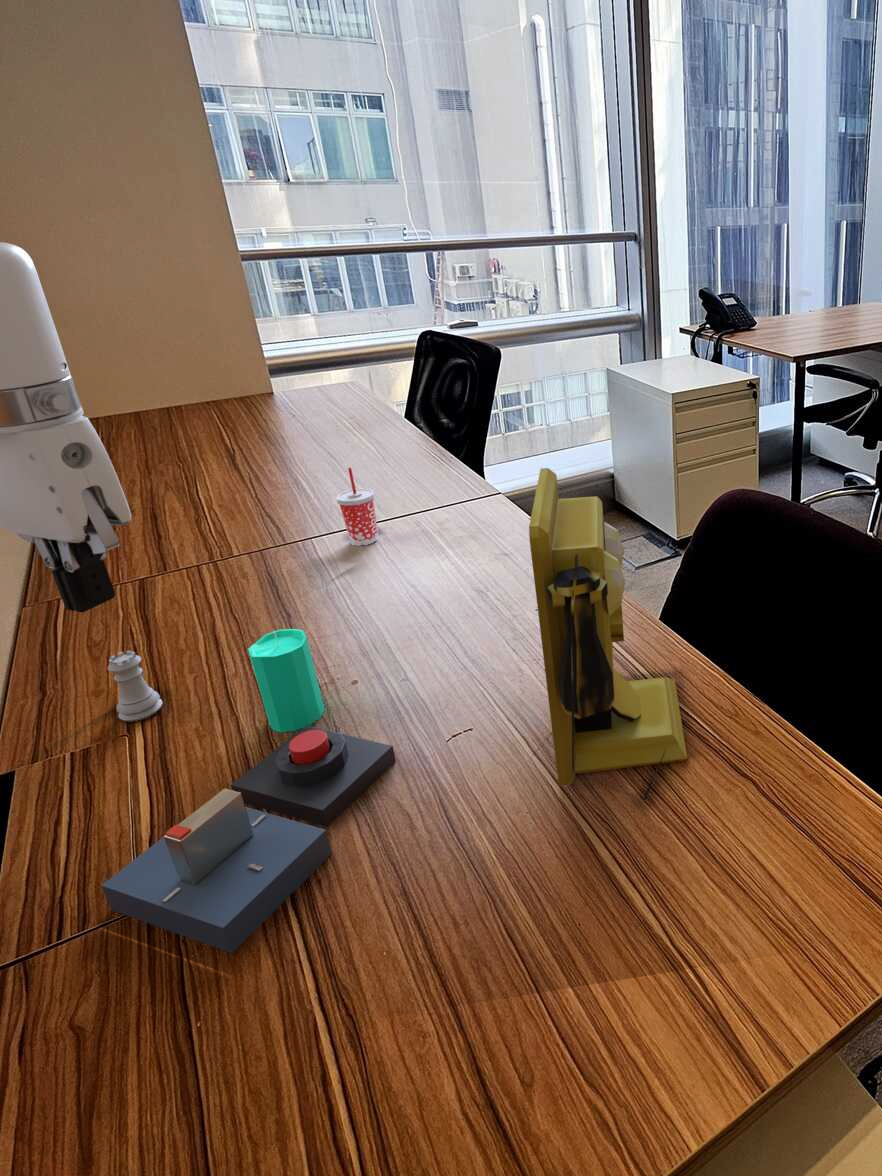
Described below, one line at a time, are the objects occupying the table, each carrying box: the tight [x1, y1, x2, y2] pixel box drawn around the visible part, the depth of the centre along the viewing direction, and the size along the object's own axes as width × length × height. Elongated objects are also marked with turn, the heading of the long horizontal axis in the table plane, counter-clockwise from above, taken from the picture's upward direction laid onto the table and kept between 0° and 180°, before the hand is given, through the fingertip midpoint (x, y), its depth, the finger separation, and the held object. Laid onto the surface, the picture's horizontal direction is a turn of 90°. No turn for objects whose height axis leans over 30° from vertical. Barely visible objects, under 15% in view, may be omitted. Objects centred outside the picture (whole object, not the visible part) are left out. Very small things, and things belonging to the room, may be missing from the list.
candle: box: [247, 628, 325, 733], centre depth 92 cm, size 6×6×12 cm
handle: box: [162, 788, 254, 884], centre depth 70 cm, size 6×2×5 cm, turn 162°
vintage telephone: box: [528, 467, 688, 802], centre depth 85 cm, size 31×14×30 cm, turn 9°
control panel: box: [100, 806, 333, 954], centre depth 71 cm, size 14×11×3 cm
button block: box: [230, 725, 397, 828], centre depth 83 cm, size 12×10×4 cm
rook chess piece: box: [107, 650, 163, 723], centre depth 93 cm, size 4×4×8 cm
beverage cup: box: [335, 467, 379, 547], centre depth 138 cm, size 6×6×14 cm
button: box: [289, 730, 330, 765], centre depth 82 cm, size 4×4×2 cm
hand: (91, 603), depth 69 cm, fingers closed
